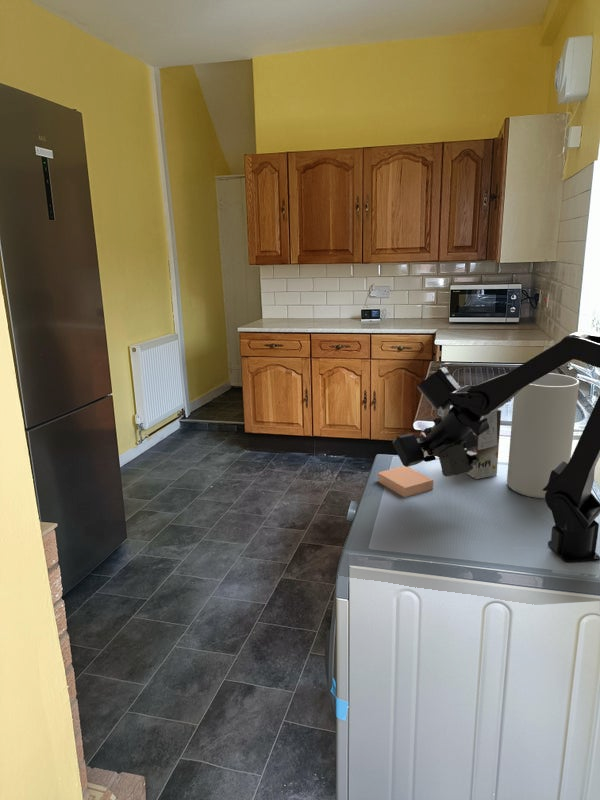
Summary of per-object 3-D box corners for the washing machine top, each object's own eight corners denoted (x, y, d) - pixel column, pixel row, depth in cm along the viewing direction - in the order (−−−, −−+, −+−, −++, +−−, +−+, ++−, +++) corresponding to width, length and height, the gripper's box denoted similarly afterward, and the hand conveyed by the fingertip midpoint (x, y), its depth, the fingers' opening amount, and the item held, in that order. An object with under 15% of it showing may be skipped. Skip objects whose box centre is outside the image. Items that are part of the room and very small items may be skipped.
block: (433, 479, 128) (405, 465, 137) (405, 487, 125) (377, 472, 133) (432, 490, 129) (404, 475, 137) (404, 498, 125) (377, 482, 134)
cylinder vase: (494, 483, 131) (502, 377, 124) (532, 472, 136) (542, 370, 130) (540, 504, 120) (551, 389, 113) (579, 491, 126) (592, 381, 119)
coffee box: (498, 475, 135) (503, 410, 131) (475, 479, 133) (480, 414, 129) (473, 462, 143) (477, 400, 139) (452, 466, 141) (455, 403, 137)
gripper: (436, 471, 106) (398, 504, 118) (508, 452, 114) (466, 484, 126) (409, 420, 110) (376, 457, 122) (481, 405, 119) (442, 441, 131)
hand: (416, 460), depth 125 cm, fingers closed
